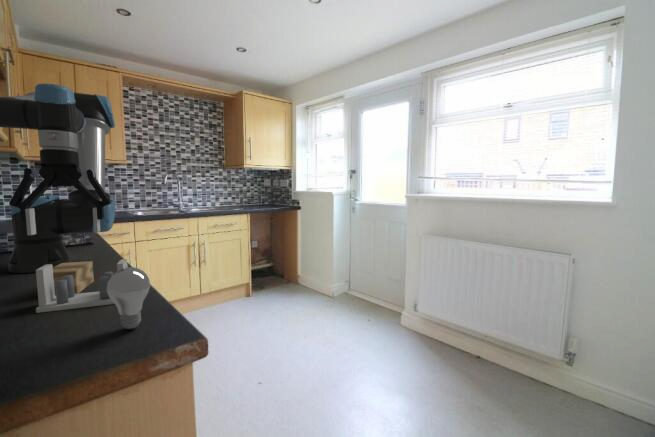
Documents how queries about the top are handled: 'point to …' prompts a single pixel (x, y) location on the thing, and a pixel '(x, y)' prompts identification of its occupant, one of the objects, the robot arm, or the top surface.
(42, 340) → the top surface
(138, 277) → the light bulb
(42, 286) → the peg stand
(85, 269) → the wooden block
